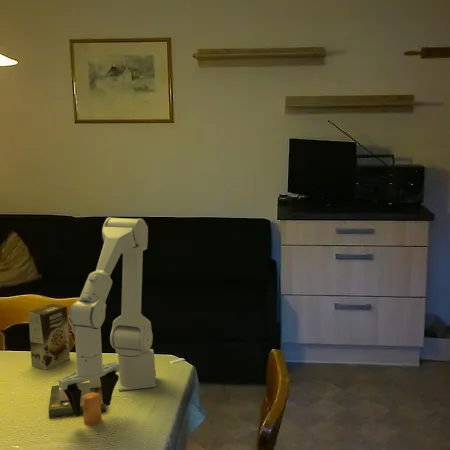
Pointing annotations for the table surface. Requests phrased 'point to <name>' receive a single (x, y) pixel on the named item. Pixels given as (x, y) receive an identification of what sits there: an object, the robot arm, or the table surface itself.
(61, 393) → the block
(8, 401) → the table surface
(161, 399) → the table surface
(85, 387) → the breaker panel
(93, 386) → the block
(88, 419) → the cap
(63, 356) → the coffee box
